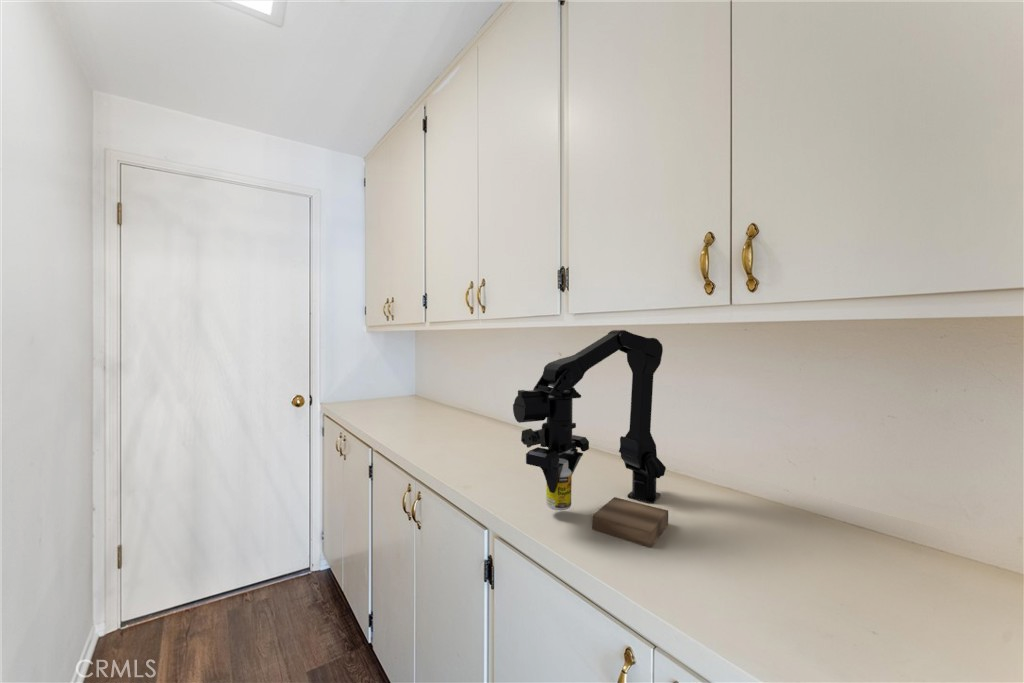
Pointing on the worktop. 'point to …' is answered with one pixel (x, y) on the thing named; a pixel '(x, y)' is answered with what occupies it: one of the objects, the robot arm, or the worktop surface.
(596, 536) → the worktop surface
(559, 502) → the supplement bottle
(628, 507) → the walnut plinth
